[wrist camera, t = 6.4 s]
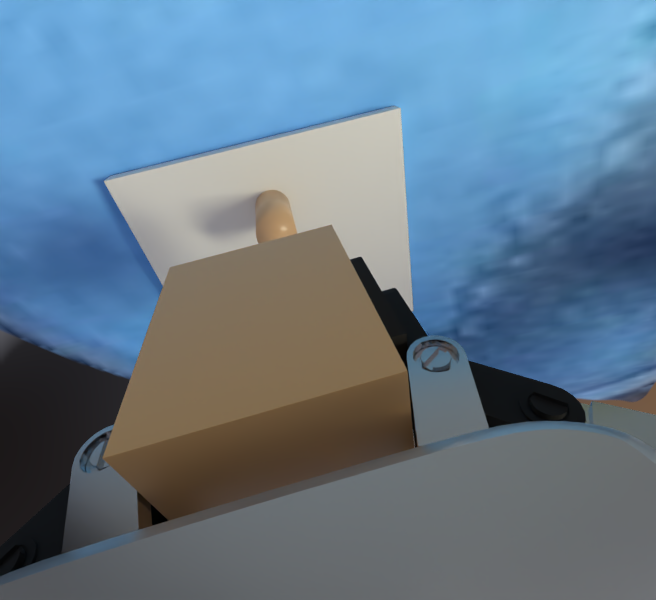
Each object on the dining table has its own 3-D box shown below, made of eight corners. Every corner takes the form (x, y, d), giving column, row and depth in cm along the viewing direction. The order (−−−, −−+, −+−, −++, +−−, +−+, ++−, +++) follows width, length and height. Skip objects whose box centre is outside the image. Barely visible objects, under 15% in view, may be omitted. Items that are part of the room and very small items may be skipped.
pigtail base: (394, 105, 20) (431, 118, 16) (408, 303, 28) (435, 345, 24) (109, 176, 19) (71, 208, 15) (209, 356, 27) (202, 409, 23)
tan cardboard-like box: (331, 224, 11) (407, 370, 6) (355, 342, 14) (418, 507, 9) (170, 267, 11) (102, 458, 6) (228, 377, 13) (219, 568, 8)
